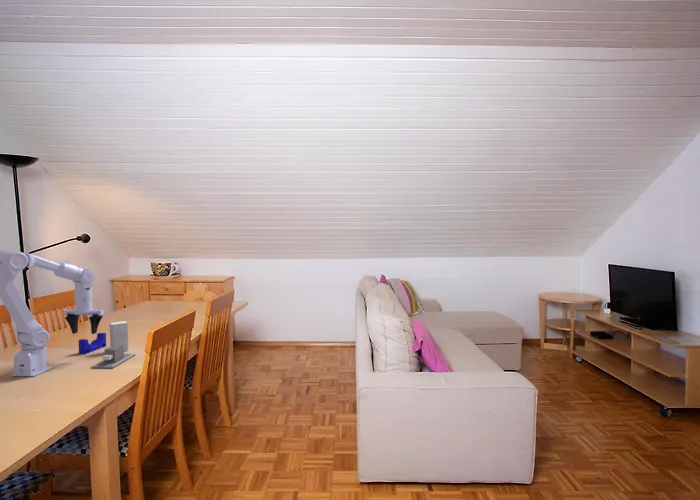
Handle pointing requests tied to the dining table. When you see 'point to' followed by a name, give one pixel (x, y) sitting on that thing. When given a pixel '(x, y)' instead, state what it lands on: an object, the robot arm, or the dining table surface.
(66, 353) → the dining table surface
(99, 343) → the blue notched bracket
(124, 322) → the skincare box
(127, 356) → the felt mat
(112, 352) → the plug
